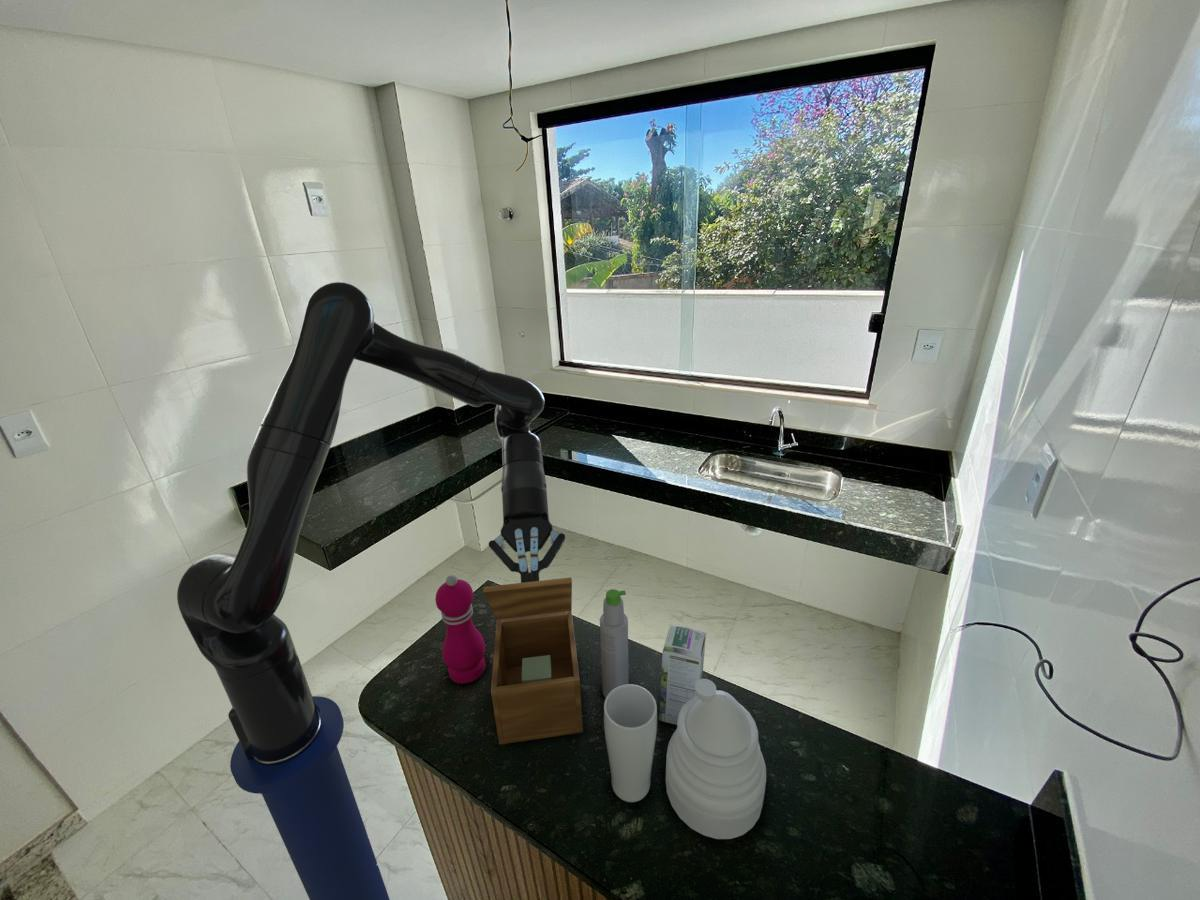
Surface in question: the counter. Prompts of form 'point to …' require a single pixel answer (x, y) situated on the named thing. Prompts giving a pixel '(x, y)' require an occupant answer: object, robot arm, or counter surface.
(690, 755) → the honey pot
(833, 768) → the counter surface
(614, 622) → the bottle
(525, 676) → the block
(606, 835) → the counter surface
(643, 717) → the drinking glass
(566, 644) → the keepsake box
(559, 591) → the cover
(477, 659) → the pepper mill
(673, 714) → the syrup box
